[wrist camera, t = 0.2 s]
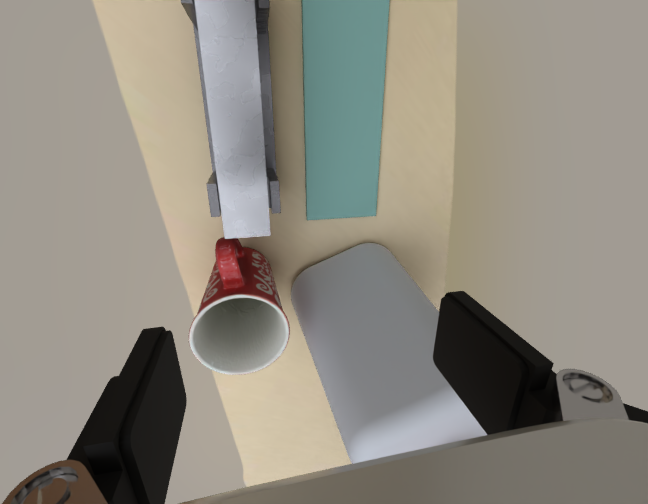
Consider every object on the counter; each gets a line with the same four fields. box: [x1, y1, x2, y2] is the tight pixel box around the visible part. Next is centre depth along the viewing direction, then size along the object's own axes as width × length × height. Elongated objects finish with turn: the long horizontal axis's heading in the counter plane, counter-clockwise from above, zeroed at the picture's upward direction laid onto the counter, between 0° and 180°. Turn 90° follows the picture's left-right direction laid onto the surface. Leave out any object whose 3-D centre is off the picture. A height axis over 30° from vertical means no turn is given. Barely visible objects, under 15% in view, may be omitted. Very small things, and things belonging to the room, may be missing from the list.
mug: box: [189, 237, 290, 375], centre depth 35 cm, size 13×9×14 cm
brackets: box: [181, 0, 281, 217], centre depth 31 cm, size 20×7×9 cm, turn 0°
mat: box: [302, 0, 389, 220], centre depth 37 cm, size 26×9×1 cm, turn 0°
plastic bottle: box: [291, 243, 487, 464], centre depth 34 cm, size 15×15×28 cm
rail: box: [194, 0, 271, 239], centre depth 27 cm, size 22×4×4 cm, turn 0°
